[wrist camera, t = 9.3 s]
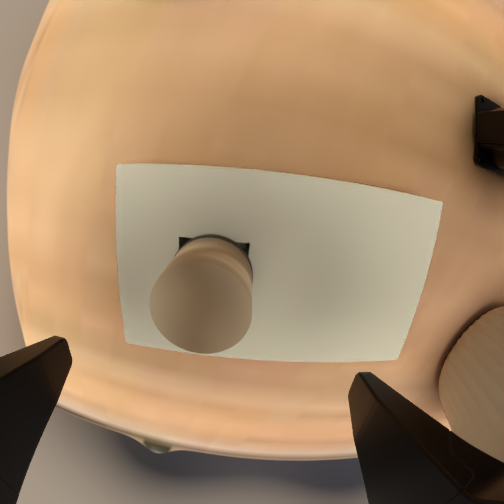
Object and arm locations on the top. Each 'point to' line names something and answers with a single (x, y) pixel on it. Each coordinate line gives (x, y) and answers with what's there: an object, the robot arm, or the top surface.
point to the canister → (477, 384)
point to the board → (282, 256)
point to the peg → (204, 295)
